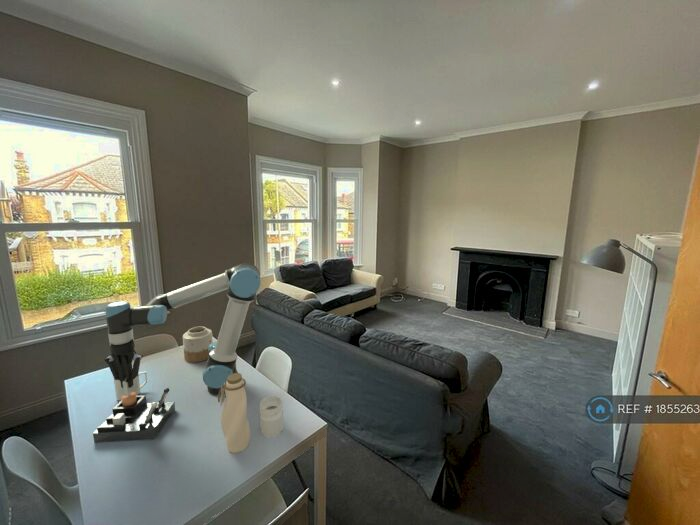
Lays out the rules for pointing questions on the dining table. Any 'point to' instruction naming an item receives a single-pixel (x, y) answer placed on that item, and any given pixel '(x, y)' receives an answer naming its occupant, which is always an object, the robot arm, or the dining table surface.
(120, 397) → the mug
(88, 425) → the dining table surface
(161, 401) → the lever
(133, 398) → the button
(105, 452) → the dining table surface
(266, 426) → the cream cylinder
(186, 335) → the vase
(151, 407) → the lever
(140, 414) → the panel
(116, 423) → the slider
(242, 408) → the water bottle
